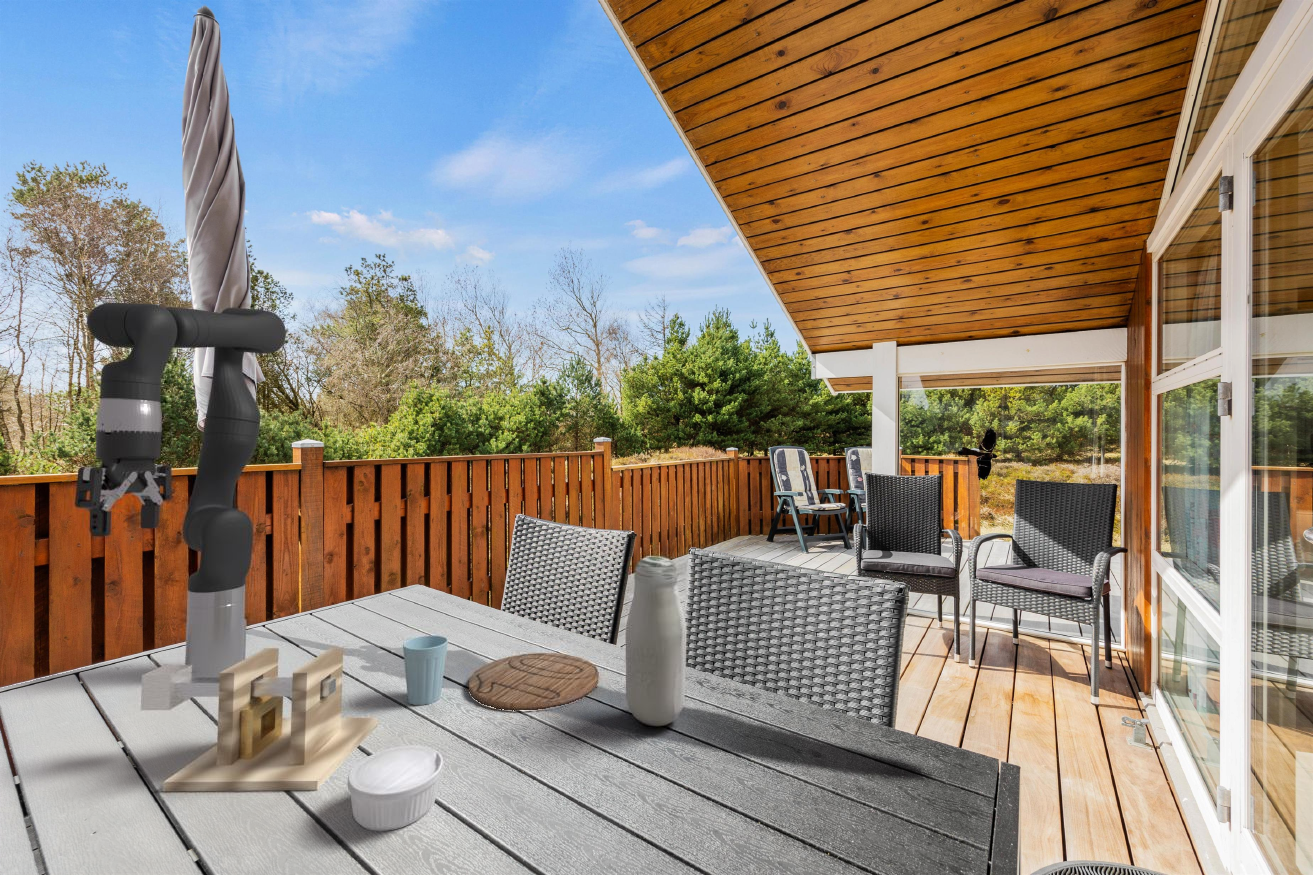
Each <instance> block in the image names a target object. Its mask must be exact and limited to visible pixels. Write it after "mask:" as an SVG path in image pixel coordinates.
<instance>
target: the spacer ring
mask: <svg viewBox="0 0 1313 875" xmlns="http://www.w3.org/2000/svg"><path fill="white" fill-rule="evenodd" d="M283 703H284V696H274V697H260V698H259V699H257V700H256V701H254V702H253V703H251V704H250V705H248V706H247V707H245V708H244V709H242V718H241V748H240V759H253V758H254V757H255V756H256V755H258V754H259V753H260V752H261V751H263V750H264V749H265V748H266V747H267V746H269V745H270V744H271V743H272V742H274V741H275V740H276V739H277V738H279V737H280V736H281V735H282V718H283V712H284V710H283V709H284V708H283V707H284V704H283ZM264 714H265V718H264V729H263V730H262V731H261V716H263V715H264Z"/></svg>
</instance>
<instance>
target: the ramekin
mask: <svg viewBox="0 0 1313 875" xmlns="http://www.w3.org/2000/svg"><path fill="white" fill-rule="evenodd" d="M443 771H444V758H443V756H442V754H441V753H440V752H439V751H438V750H436V749H434V748H433V747H429V746H425V745H418V744H417V745H414V744H413V745H402V746H401V745H400V746H395V747H391V748H386V749H383V750H379V751H377V752H375V753H372V754H370V755H369V756H366V757H365V758H364V759H362V760H361V761H359V762H358V763H356V764H355V765H354V766H353V767H352V768H351V770H350V771H349V774H348V776H347V788H348V789H347V790H348V792H349V793H350V801H351V807H352V816H353V818H354V820H355V821H356V822H357V823H358V824H359V825H360V826H361V827H363V828H365V829H367V830H370V831H377V832H383V831H391V830H396V829H401V828H403V827H407V826H408V825H411V824H413V823H415V822H416V821H418V820H420V819H422V818H423V817H424V816H425V815H426V814H427V813H428V812H429V810H431V809H432V807H433V805H434V803H435V801H436V799H437V795H438V791H439V786H440V782H441V781H440V779H441V776H442V773H443Z"/></svg>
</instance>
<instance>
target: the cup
mask: <svg viewBox="0 0 1313 875" xmlns="http://www.w3.org/2000/svg"><path fill="white" fill-rule="evenodd" d="M448 643H449V639H448V638H447V637H446V636H442V635H436V634H435V635H431V634H430V635H422V636H416V637H413V638H410V639H409V638H408V640H406V641H404V642H403V643H402V650H403V651H402V652H403V661H404V670H405V671H404V672H405V681H406V682H405V683H406V693H407V702H408V703H409V704H410V705H412V704H413V706H426V705H430V704H433V703H436V702H438V700H440V697H441V694H442V688H443V687H442V686H443V681H444V679H443V678H444V672H445V666H446V658H447V650H448ZM432 702H433V703H432ZM425 704H426V705H425Z"/></svg>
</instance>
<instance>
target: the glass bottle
mask: <svg viewBox="0 0 1313 875" xmlns="http://www.w3.org/2000/svg"><path fill="white" fill-rule="evenodd" d="M633 576H634V589H633V596H632V597H633V598H632V600H631V604H630V607H629V608H630V609H629V613H628V616H627V620H626V621H627V622H626V626H625V637H624V638H625V696H626V701H627V702H626V703H627V706H628V709H629V711H630V712H631V714H632V716H633V717H634V718H635V719H636V720H638V721H639V722H641V723H643V724H645V725H648V726H653V727H661V726H662V727H663V726H666V725H668V724H671V723H673V722H674V721H675V719H677V718H678V716H679V715H680V713H681V711H682V709H683V707H684V702H685V694H686V668H687V662H686V661H687V625H686V618H685V613H684V611H683V607H682V603H681V600H680V599H681V598H680V592H679V587H678V583H677V582H678V570H677V566H676V564H675V562H674V561H673V560H671V559H670V558H667V557H665V556H659V555H648V556H647V555H646V556H645V557H643V558H642V559H640V560H639V561H638V562H637V564H636V566H635V570H634V575H633Z"/></svg>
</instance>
